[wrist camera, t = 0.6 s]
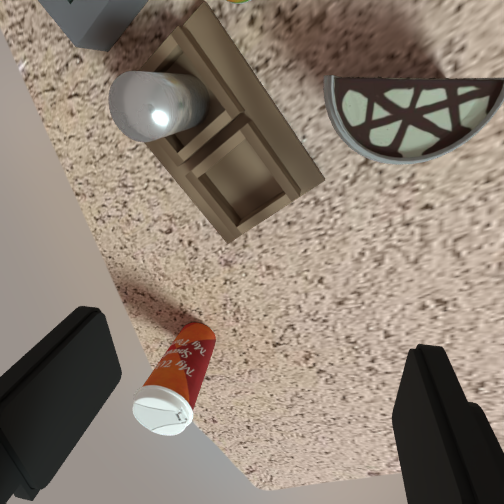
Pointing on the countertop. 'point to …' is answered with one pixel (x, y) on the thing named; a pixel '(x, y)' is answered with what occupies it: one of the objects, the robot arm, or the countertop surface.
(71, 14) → the gray square holder
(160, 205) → the countertop surface
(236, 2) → the supplement bottle
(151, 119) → the billet
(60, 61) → the countertop surface
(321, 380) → the countertop surface
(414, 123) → the food container
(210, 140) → the double slot desk organizer
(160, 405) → the paper cup
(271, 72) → the countertop surface
